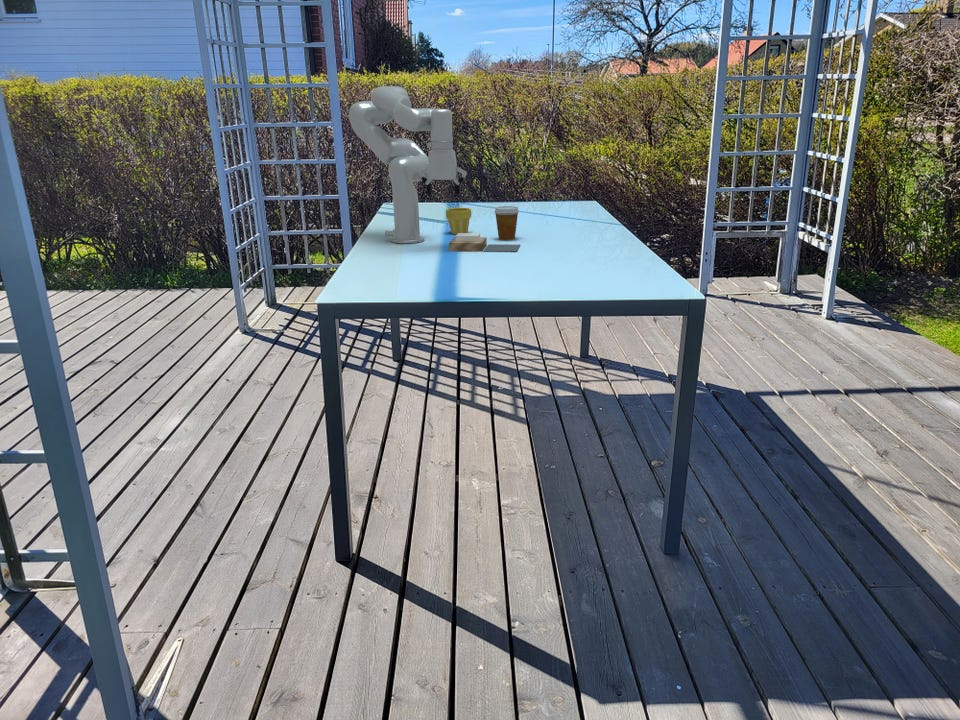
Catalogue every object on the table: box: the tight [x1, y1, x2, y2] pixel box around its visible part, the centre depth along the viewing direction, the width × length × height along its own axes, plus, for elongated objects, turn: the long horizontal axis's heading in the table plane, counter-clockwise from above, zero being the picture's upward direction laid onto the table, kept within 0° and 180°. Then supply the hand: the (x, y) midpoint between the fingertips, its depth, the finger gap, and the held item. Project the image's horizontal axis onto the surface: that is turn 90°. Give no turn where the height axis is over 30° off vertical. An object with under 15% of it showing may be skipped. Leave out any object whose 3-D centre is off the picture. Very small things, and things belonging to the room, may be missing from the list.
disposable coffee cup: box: [493, 205, 520, 241], centre depth 273 cm, size 10×10×12 cm
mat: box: [482, 243, 521, 253], centre depth 257 cm, size 12×13×1 cm
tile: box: [455, 232, 481, 242], centre depth 257 cm, size 8×6×2 cm
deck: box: [448, 236, 488, 253], centre depth 258 cm, size 12×12×3 cm
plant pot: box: [445, 207, 472, 235], centre depth 289 cm, size 10×10×10 cm
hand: (443, 196), depth 254 cm, fingers open, 9 cm apart
